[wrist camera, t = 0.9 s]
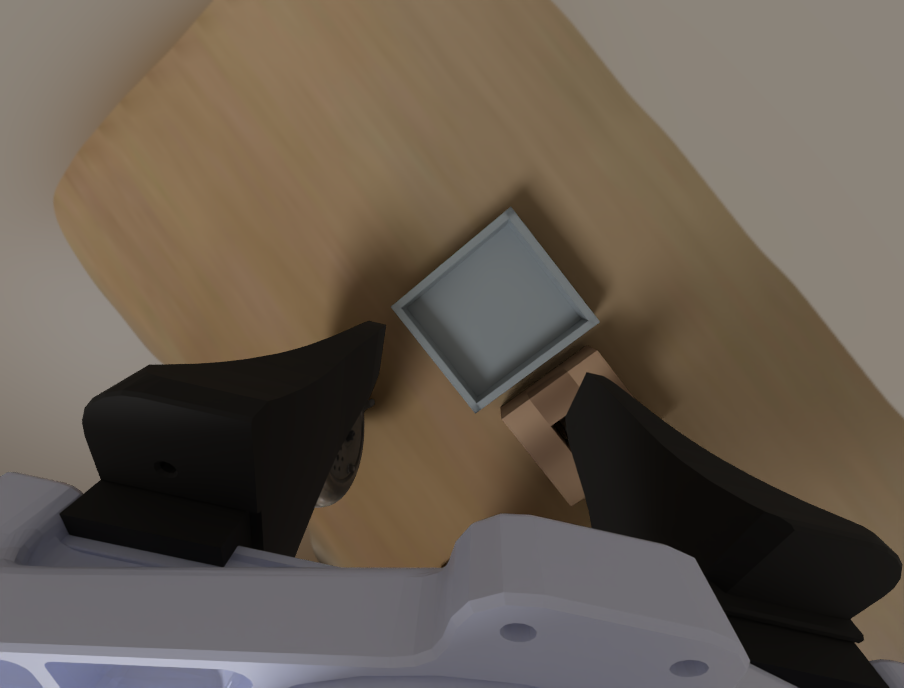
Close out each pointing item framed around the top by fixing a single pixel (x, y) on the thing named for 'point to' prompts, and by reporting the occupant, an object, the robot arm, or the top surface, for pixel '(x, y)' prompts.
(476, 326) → the tray
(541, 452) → the block
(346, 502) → the top surface
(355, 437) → the alarm clock
